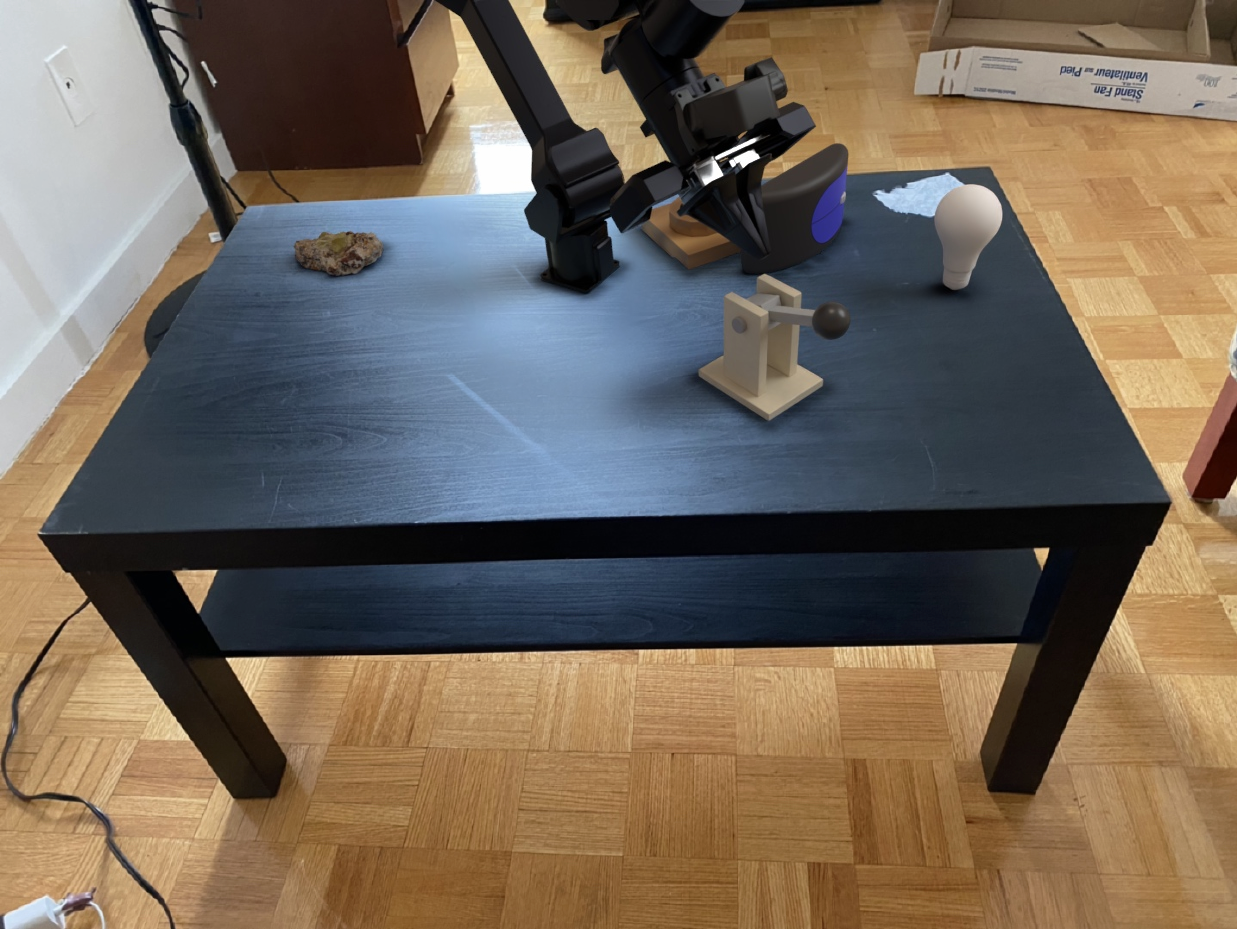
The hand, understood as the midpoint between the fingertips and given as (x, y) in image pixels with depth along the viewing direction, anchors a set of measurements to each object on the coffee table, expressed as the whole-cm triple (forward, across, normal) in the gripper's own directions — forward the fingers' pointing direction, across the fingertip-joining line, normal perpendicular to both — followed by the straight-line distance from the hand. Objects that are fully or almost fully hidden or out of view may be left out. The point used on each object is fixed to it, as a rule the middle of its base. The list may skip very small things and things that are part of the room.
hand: (764, 257), depth 78 cm
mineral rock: (-26, -17, +45) cm, 55 cm away
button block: (-7, +14, +26) cm, 30 cm away
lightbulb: (+12, +25, +8) cm, 29 cm away
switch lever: (+7, 0, +1) cm, 7 cm away
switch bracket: (+9, 0, +10) cm, 14 cm away
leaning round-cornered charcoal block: (-1, +20, +20) cm, 28 cm away
